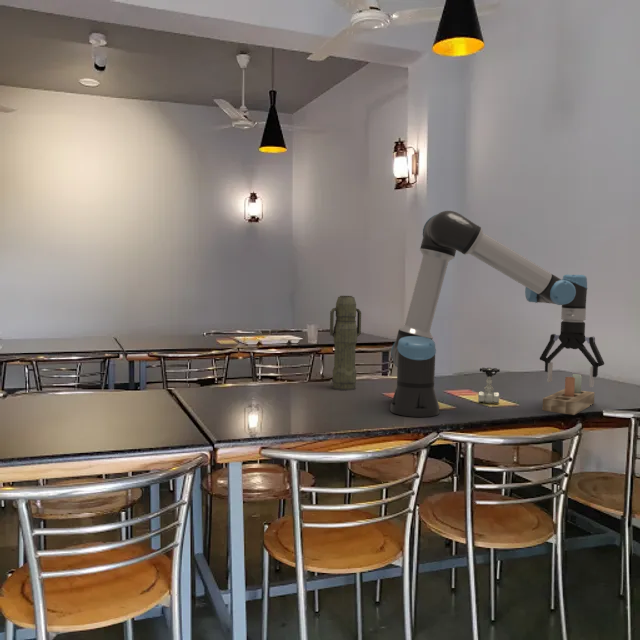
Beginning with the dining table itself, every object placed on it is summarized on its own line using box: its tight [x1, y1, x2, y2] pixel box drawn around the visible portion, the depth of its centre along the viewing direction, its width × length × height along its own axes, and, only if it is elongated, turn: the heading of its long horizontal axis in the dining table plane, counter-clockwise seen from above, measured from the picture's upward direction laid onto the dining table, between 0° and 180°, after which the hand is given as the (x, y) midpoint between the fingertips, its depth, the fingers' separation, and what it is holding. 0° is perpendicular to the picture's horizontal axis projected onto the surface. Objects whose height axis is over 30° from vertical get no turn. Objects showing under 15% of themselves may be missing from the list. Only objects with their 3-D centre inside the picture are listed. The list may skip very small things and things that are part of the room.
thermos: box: [329, 295, 362, 391], centre depth 240 cm, size 9×12×35 cm
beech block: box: [541, 388, 596, 416], centre depth 214 cm, size 10×24×4 cm, turn 143°
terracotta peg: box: [564, 376, 575, 397], centre depth 213 cm, size 3×3×10 cm
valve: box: [478, 367, 500, 404], centre depth 217 cm, size 7×7×12 cm
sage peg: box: [571, 373, 583, 394], centre depth 220 cm, size 3×3×10 cm
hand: (570, 384), depth 213 cm, fingers open, 13 cm apart
